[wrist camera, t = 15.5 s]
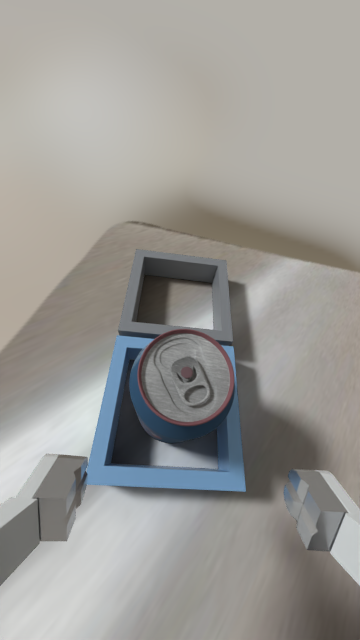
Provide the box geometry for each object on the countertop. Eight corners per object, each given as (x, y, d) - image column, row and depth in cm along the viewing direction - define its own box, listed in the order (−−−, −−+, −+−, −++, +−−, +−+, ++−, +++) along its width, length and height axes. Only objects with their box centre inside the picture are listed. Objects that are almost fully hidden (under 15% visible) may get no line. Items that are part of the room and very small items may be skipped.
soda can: (128, 386, 23) (112, 339, 13) (187, 364, 26) (211, 308, 15) (150, 456, 21) (150, 465, 10) (214, 425, 23) (267, 406, 12)
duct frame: (219, 277, 33) (226, 260, 30) (231, 485, 20) (245, 491, 17) (137, 267, 32) (136, 249, 29) (94, 478, 19) (83, 484, 16)
